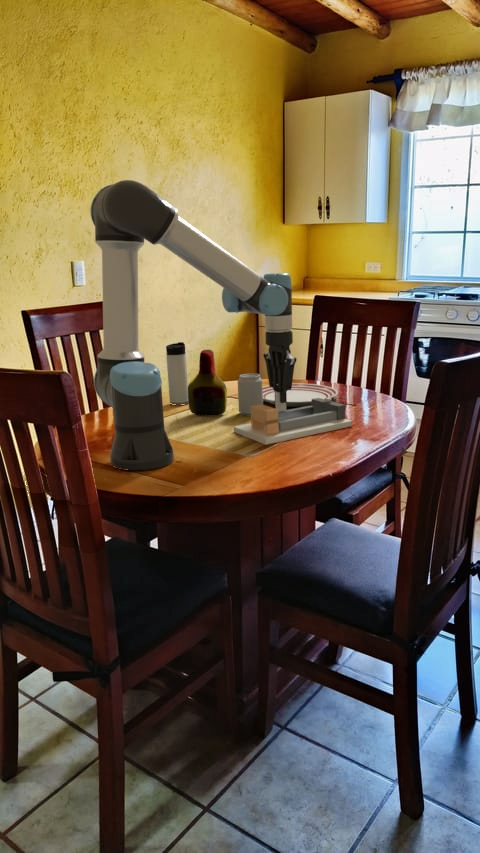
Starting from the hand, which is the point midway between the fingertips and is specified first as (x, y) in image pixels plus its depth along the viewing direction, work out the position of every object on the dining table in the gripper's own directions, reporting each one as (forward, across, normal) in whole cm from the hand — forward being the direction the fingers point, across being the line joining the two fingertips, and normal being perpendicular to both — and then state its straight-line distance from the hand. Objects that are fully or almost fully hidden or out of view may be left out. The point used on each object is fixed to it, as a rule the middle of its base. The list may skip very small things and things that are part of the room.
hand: (281, 413), depth 190 cm
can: (+3, +16, 0) cm, 16 cm away
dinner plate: (+3, +21, -21) cm, 30 cm away
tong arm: (+1, -3, 0) cm, 3 cm away
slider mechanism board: (+3, -7, +1) cm, 8 cm away
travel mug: (+3, +43, +11) cm, 44 cm away
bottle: (+3, +23, +11) cm, 25 cm away
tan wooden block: (+1, -9, +12) cm, 15 cm away
